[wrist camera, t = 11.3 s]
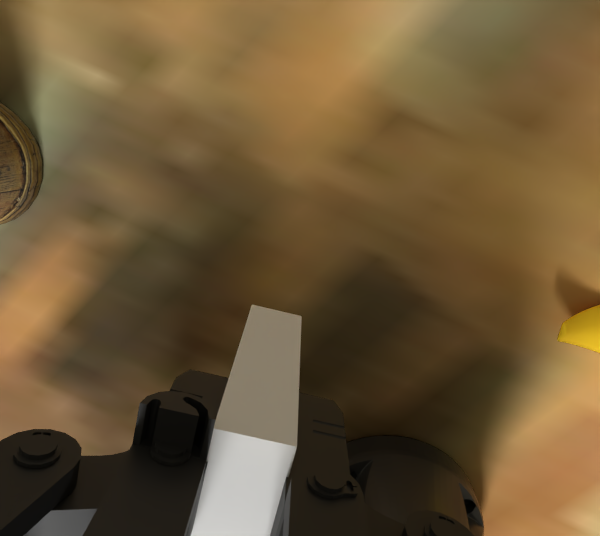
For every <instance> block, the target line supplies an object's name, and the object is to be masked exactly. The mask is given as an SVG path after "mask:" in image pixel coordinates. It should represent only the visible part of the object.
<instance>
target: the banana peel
mask: <svg viewBox="0 0 600 536" xmlns="http://www.w3.org/2000/svg"><path fill="white" fill-rule="evenodd" d="M557 340H558V341H559V342H565V343H569V344H573V345H577V346H580V347H583V348H587V349H590V350H593V351H595V352H598V353H600V305H597V306H594V307H591V308H589V309H586V310H584V311H582V312H580V313H578V314H576V315H574V316H572V317H571V318H569V319H568V320H566V321H565V322H563V323H562V326H561V329H560V332H559V335H558V338H557Z"/></svg>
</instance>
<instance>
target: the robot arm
mask: <svg viewBox="0 0 600 536" xmlns="http://www.w3.org/2000/svg"><path fill="white" fill-rule="evenodd" d="M301 319H302V316H299V315H295V314H291V313H286V312H282V311H278V310H274V309H269V308H265V307H261V306H256V305H252V306H251V309H250V312H249V315H248V318H247V322H246V325H245V328H244V331H243V334H242V337H241V341H240V344H239V347H238V350H237V353H236V357H235V360H234V363H233V366H232V369H231V372H230V376H229V378H226V377H221V376H217V375H212V374H208V373H204V372H199V371H195V370H188V371H187V372H185V373H183V374H182V375H180V376H178V377H176V379H175V381H174V383H173V385H172V387H171V389H170V391H167V392H158V393H155V394H152V395H150V396H147V397H146V398H145V399H144V400H143V401H142V402H141V403H140V406H139V411H138V417H137V422H136V428H135V433H134V439H133V444H132V446H131V448H130V450H128V451H126V452H123V453H119V454H114V455H105V456H81V447H80V445H79V444H78V442H77V441H76V439H74V438H72V437H71V436H69V435H67V434H66V433H63V432H59V431H55V430H51V429H33V430H28V431H23V432H18V433H16V434H13V435H11V436H9V437H7V438H5V439H3V440H1V441H0V536H484V524H483V517H482V512H481V508H480V505H479V503H478V500H477V498H476V495H475V493H474V491H473V488H472V486H471V484H470V481H469V480H468V478H467V476H466V475H465V473H464V472H463V470H462V469H461V468H460V467H459V466H458V464H457V463H456V462H455V461H453V460H452V459H451V458H450V457H449V456H448V455H446V454H445V453H443V452H442V451H440V450H439V449H437V448H435V447H433V446H431V445H429V444H426V443H424V442H421V441H418V440H414V439H410V438H405V437H398V436H374V437H367V438H362V439H357V440H354V441H351V442H348V443H346V440H345V438H346V435H345V429H344V419H343V413H342V412H341V410H340V409H339V407H338V406H337V405H336V403H335V402H334V401H333V400H330V399H325V398H321V397H316V396H312V395H308V394H303V393H299V376H300V347H301Z"/></svg>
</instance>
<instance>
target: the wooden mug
mask: <svg viewBox="0 0 600 536" xmlns="http://www.w3.org/2000/svg"><path fill="white" fill-rule="evenodd" d="M41 182H42V158H41V154H40V150H39V146H38V143H37V142H36V140H35V138H34V136H33V135H32V133H31V131H30V129H29V128H28V127H27V126H26V125H25V124H24V123H23V122H22V121H21V119H20V118H19V117H18V116H17V115H16V114H15V113H14V112H12V111H11V110H10V109H8V108H7V107H6V106H5V105H3V104H1V103H0V224H4V223H7V222H9V221H11V220H14V219H16V218H18V217H19V216H20V215H21V214H23V213H24V212H25V211H26V210H28V209H29V207H30V206H31V204H32V203H33V201H34V200H35V198H36V197H37V195H38V192H39V188H40V185H41Z"/></svg>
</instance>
